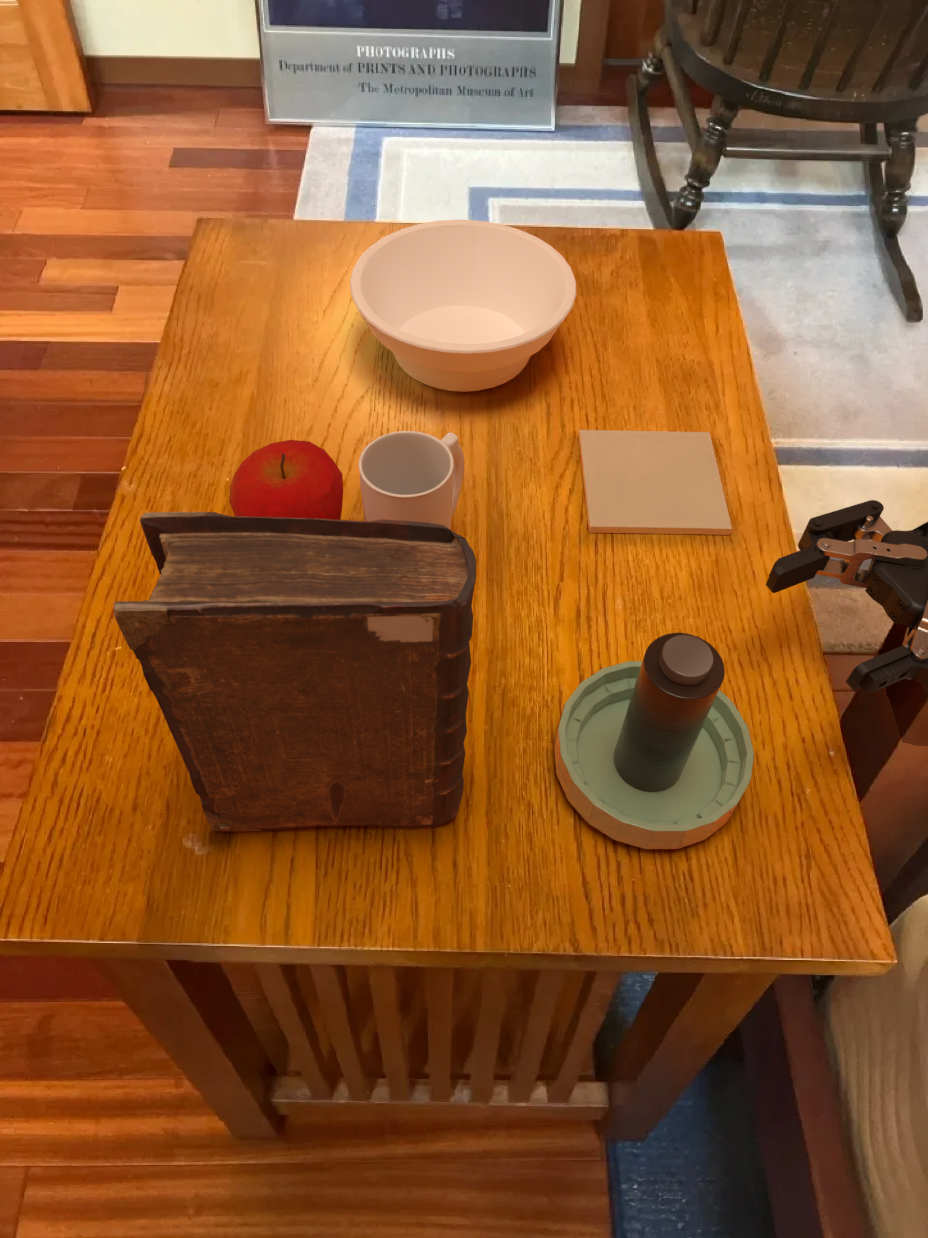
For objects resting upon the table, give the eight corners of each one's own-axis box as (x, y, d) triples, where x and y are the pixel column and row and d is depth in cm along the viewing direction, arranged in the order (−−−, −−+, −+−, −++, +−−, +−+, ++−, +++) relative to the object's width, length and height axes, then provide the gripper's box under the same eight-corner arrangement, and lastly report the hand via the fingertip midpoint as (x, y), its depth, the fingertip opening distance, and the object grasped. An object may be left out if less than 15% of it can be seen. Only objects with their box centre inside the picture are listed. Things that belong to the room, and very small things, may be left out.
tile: (707, 438, 86) (709, 431, 85) (730, 535, 79) (732, 528, 78) (578, 435, 86) (579, 429, 85) (588, 532, 78) (589, 526, 78)
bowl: (333, 408, 87) (324, 334, 81) (380, 280, 100) (376, 207, 93) (556, 436, 86) (566, 363, 79) (575, 303, 98) (585, 230, 92)
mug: (415, 618, 73) (411, 511, 63) (351, 576, 75) (338, 467, 65) (492, 543, 78) (500, 433, 68) (430, 506, 80) (429, 395, 70)
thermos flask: (694, 754, 65) (742, 647, 55) (662, 805, 63) (706, 704, 52) (634, 719, 67) (670, 609, 56) (600, 768, 64) (632, 662, 54)
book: (467, 765, 65) (481, 521, 45) (458, 861, 61) (468, 639, 41) (232, 743, 66) (142, 492, 46) (206, 837, 61) (95, 606, 41)
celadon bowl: (769, 746, 66) (784, 721, 64) (687, 891, 60) (699, 870, 57) (611, 658, 71) (618, 631, 68) (518, 784, 64) (522, 760, 61)
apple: (297, 507, 79) (277, 398, 70) (373, 552, 77) (364, 444, 67) (225, 569, 75) (195, 462, 66) (304, 618, 72) (283, 514, 63)
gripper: (952, 445, 65) (761, 514, 61) (1113, 591, 57) (909, 682, 53) (908, 518, 71) (732, 586, 67) (1049, 660, 63) (861, 746, 59)
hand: (811, 628), depth 60 cm, fingers open, 8 cm apart
